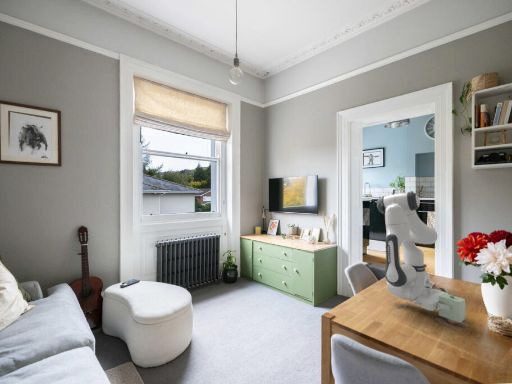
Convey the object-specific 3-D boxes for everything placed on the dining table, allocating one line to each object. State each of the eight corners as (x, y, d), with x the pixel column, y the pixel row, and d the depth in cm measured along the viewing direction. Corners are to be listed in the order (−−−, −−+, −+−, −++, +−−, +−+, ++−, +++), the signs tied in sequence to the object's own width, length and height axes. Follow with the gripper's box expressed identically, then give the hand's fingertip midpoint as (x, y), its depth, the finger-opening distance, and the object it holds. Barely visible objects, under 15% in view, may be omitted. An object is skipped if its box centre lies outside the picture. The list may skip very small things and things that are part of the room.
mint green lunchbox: (444, 311, 120) (444, 290, 120) (465, 319, 113) (465, 296, 113) (438, 315, 116) (439, 293, 116) (459, 322, 110) (460, 299, 110)
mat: (407, 303, 136) (407, 302, 136) (428, 310, 128) (428, 309, 128) (396, 308, 130) (396, 307, 130) (417, 316, 122) (417, 315, 122)
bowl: (449, 319, 117) (449, 314, 117) (458, 322, 114) (458, 317, 114) (446, 321, 115) (446, 316, 115) (455, 324, 112) (455, 319, 112)
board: (444, 316, 122) (444, 314, 122) (470, 325, 114) (470, 323, 114) (433, 323, 116) (433, 320, 116) (460, 333, 107) (460, 331, 107)
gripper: (410, 294, 120) (444, 305, 108) (430, 285, 131) (462, 294, 119) (410, 307, 120) (444, 319, 108) (430, 297, 131) (462, 307, 119)
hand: (454, 306), depth 114 cm, fingers closed on mint green lunchbox, 6 cm apart
